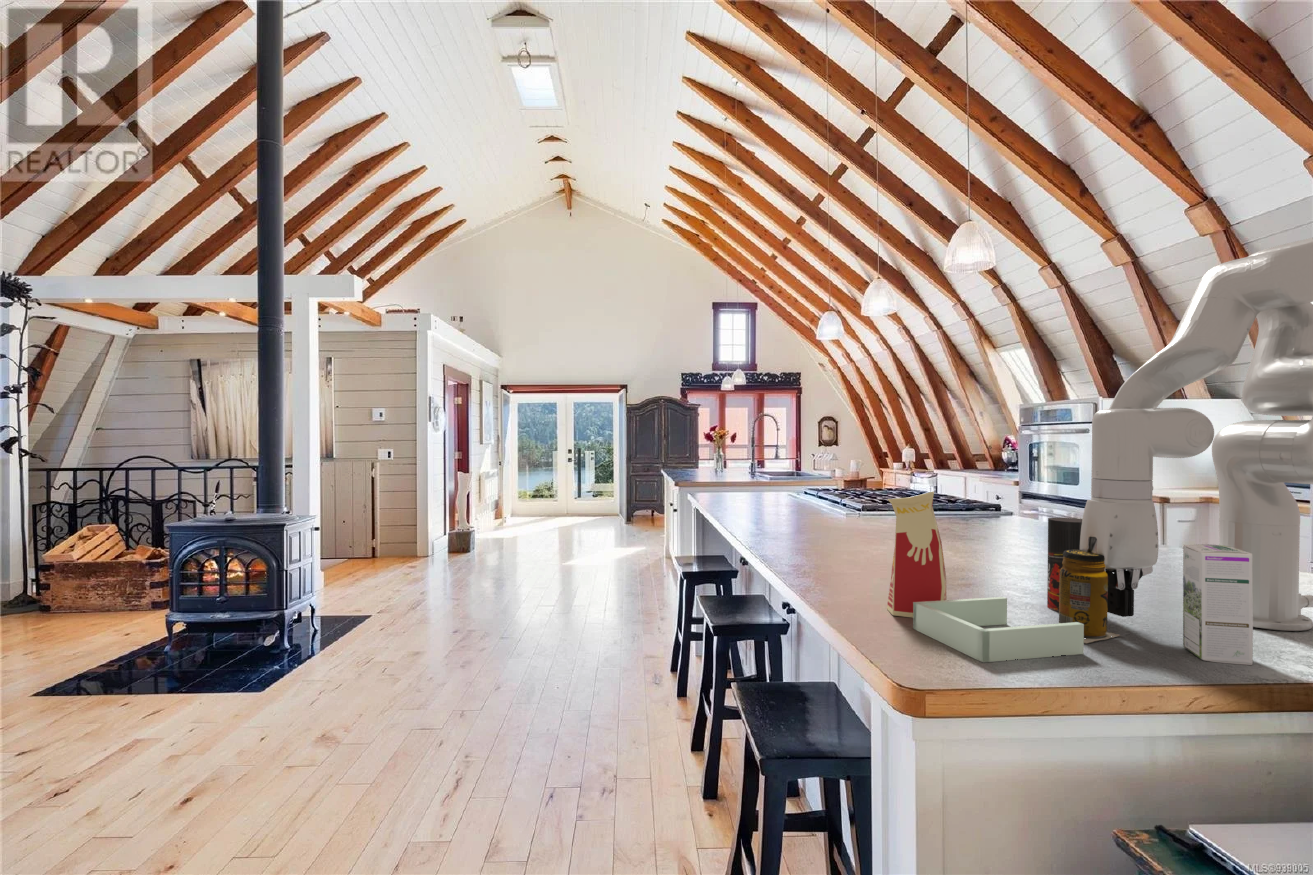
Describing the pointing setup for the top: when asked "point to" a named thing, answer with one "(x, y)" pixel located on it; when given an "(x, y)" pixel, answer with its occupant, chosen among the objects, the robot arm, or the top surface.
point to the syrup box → (1218, 603)
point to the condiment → (1084, 593)
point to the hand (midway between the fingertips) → (1119, 613)
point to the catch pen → (993, 631)
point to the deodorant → (1060, 552)
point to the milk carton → (916, 556)
